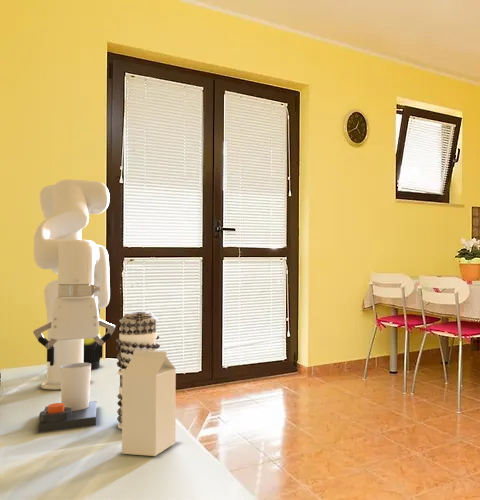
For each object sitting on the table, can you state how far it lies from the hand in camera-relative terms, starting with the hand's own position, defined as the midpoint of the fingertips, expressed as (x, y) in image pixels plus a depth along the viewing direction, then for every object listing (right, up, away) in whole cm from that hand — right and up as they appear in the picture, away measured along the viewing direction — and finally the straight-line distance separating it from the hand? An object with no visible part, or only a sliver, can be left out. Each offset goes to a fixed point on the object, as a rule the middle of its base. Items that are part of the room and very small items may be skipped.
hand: (75, 362), depth 123 cm
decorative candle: (+18, -12, -7) cm, 23 cm away
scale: (+1, -12, -4) cm, 13 cm away
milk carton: (+27, -12, -23) cm, 37 cm away
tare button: (+1, -9, -9) cm, 13 cm away
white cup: (0, -11, -1) cm, 11 cm away
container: (-26, -14, +54) cm, 62 cm away
